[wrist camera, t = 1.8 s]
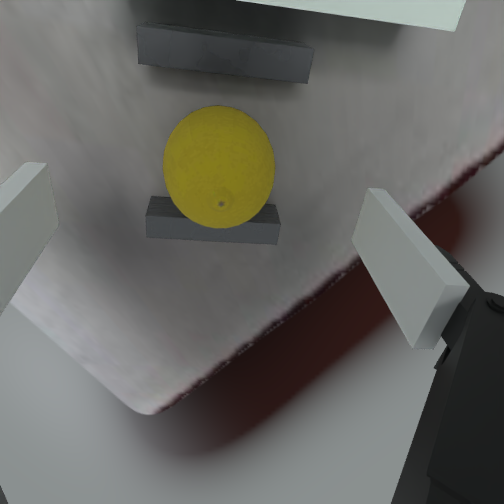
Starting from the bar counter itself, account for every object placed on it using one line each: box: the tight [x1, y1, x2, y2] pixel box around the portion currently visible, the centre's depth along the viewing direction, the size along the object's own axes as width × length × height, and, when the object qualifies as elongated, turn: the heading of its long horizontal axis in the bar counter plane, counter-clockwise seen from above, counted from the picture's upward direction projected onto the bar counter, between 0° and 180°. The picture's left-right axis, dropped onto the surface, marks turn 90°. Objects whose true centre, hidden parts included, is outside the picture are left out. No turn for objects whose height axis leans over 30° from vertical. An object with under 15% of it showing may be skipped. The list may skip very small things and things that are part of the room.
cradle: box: [137, 22, 314, 245], centre depth 21 cm, size 8×11×2 cm
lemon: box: [163, 105, 275, 228], centre depth 19 cm, size 6×6×8 cm
